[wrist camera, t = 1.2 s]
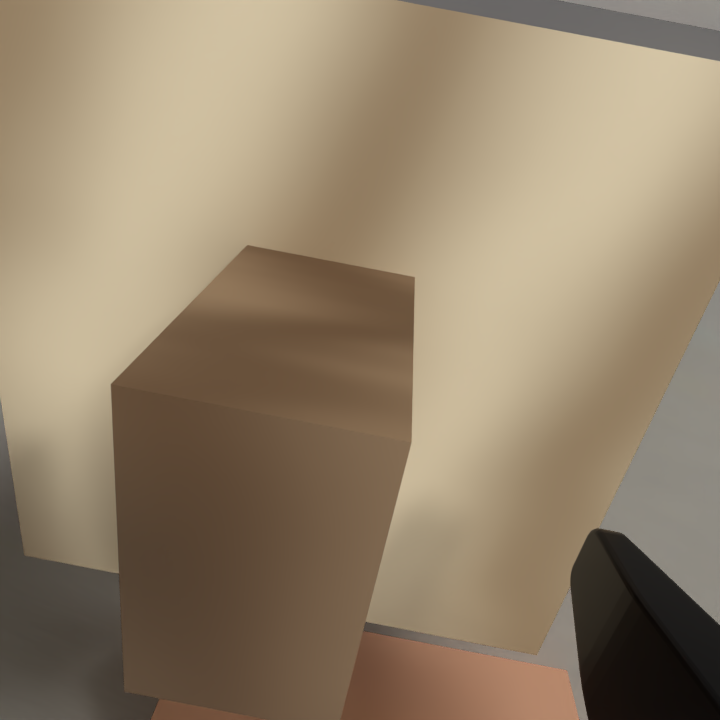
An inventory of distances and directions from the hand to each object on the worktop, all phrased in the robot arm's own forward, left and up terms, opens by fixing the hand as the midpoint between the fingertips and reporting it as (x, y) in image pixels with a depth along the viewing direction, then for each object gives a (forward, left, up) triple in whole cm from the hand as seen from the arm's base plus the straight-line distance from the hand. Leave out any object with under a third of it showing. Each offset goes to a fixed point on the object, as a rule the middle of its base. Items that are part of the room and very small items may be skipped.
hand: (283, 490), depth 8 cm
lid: (0, 0, -4) cm, 4 cm away
